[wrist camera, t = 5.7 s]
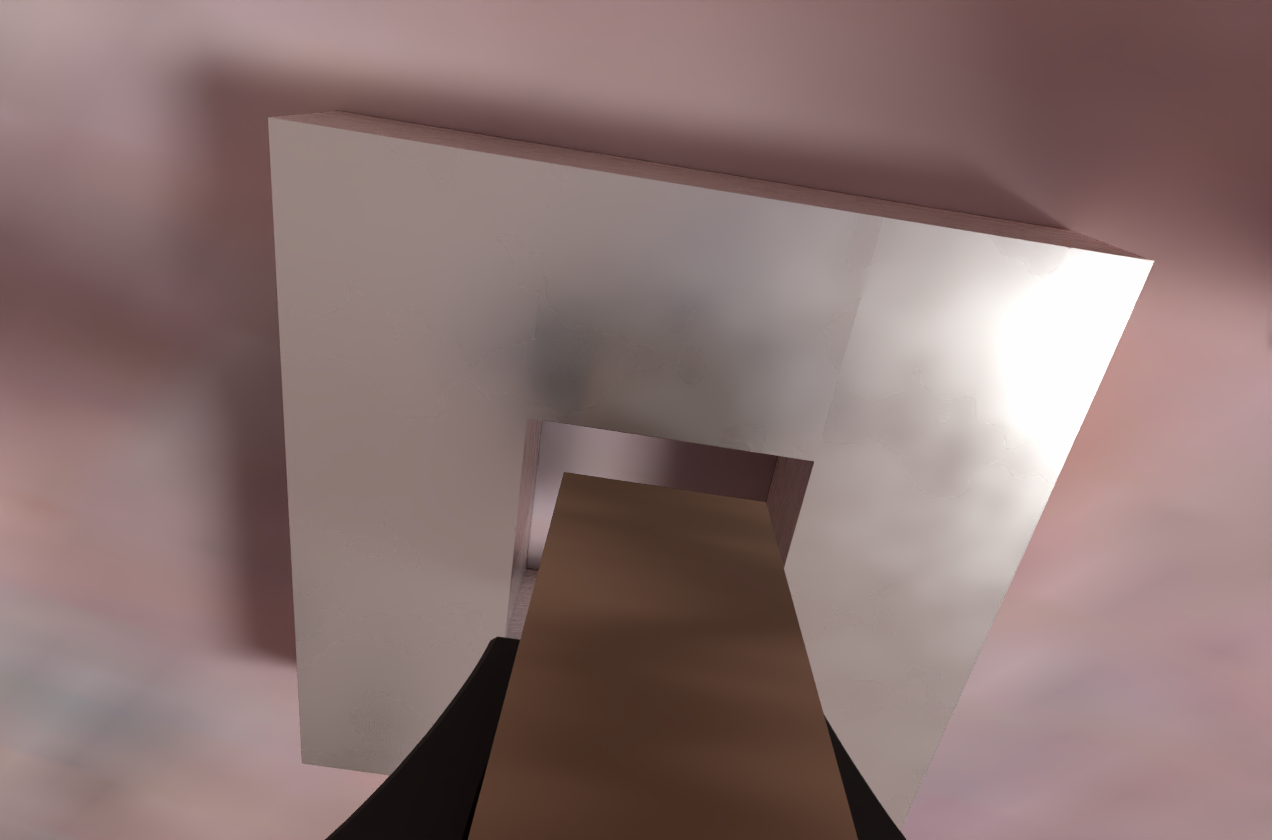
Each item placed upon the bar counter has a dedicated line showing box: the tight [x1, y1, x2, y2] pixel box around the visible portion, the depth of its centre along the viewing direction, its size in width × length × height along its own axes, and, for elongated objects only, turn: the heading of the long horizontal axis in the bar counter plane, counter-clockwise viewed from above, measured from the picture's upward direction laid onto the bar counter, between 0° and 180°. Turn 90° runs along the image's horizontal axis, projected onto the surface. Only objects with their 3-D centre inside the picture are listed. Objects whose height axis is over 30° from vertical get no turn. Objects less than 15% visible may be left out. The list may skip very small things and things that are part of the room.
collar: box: [268, 111, 1154, 830], centre depth 18 cm, size 16×16×3 cm
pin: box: [468, 472, 858, 840], centre depth 12 cm, size 4×4×8 cm
